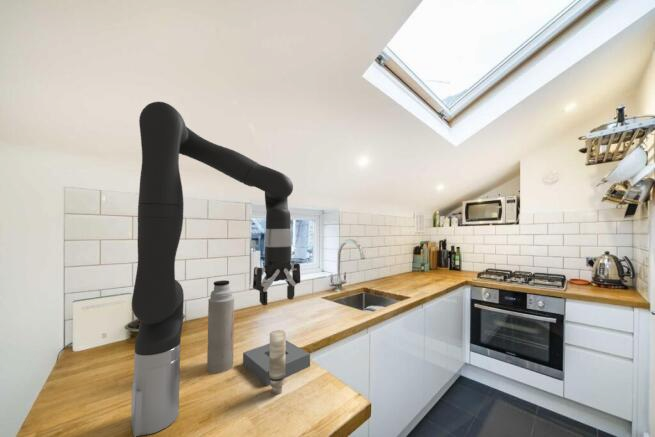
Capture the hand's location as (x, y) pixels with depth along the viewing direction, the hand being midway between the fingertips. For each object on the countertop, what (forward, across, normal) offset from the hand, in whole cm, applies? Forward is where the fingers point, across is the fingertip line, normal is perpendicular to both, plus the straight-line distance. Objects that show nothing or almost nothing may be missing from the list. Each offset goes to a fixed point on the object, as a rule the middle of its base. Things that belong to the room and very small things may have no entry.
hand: (277, 301), depth 73 cm
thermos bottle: (+25, -7, +24) cm, 35 cm away
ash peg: (+25, 0, 0) cm, 25 cm away
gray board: (+25, +7, +12) cm, 28 cm away
